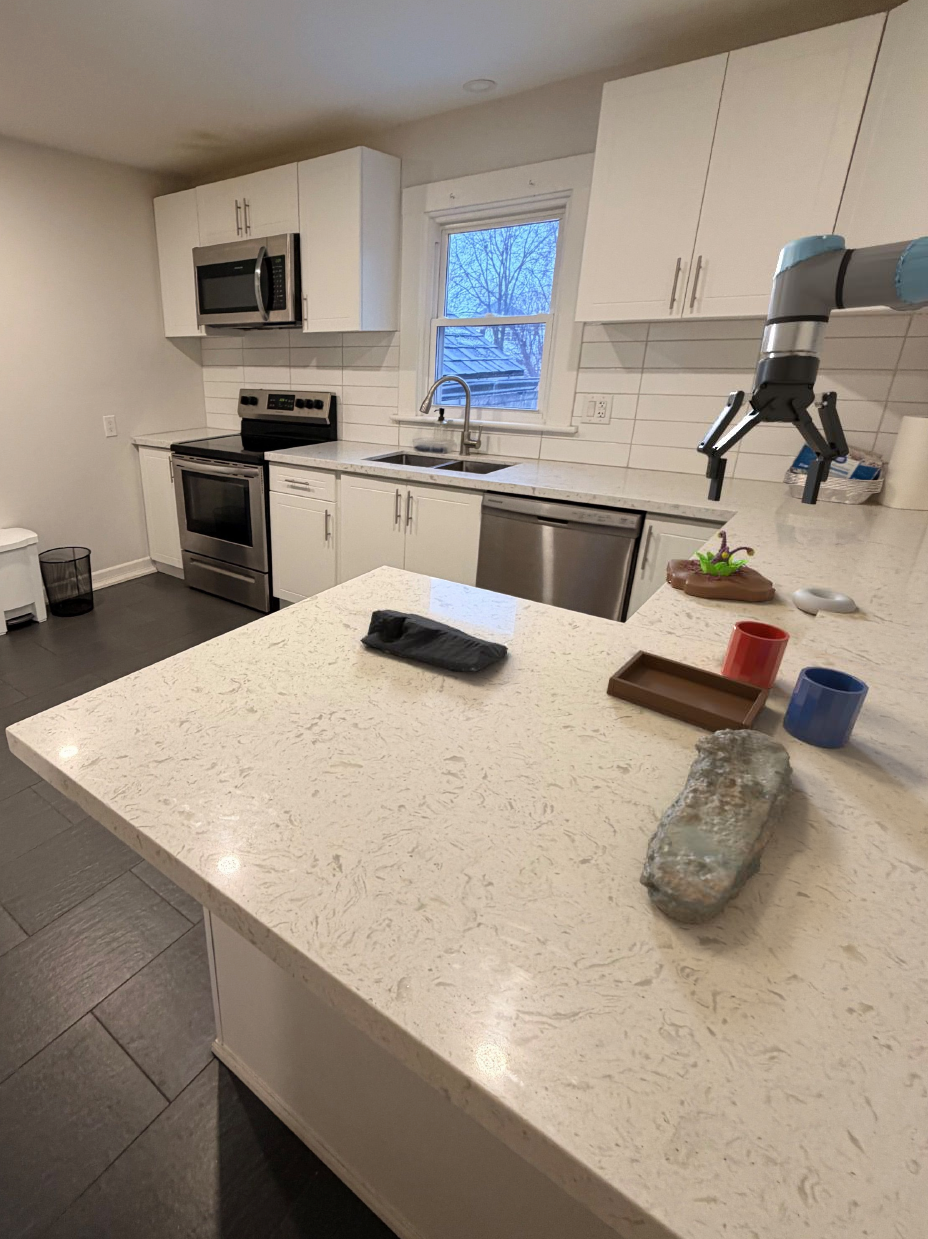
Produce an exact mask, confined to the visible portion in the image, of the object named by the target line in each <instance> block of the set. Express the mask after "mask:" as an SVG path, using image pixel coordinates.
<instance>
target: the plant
mask: <svg viewBox="0 0 928 1239" xmlns="http://www.w3.org/2000/svg"><path fill="white" fill-rule="evenodd" d="M716 536H717V538H719V539H722V540H721V543H720V548H719V549H718V552H716V553H715V555H714V554H713V553H712V552H710V551H706V556H705V554H702V553H700V552H697V551H694V554H695V555H696V556H697V557H698V558H699V559H683V558H682V559H681V558H677V559H675V558H674V559H669V561H668V562H667V566H666V569H665V570H666V578H665V582H666V583H669V581H671V582H670V583H669V584H670V586H671V588H674V589H678V590H682V591H683V593H685V594H688V595H691V596H695V597H699V598H704V599H725V600H735V601H743V602H749V603H754V602H765V601H769V600H773V599H774V597H775V595H776V588H775V587H773V582H772V581H771V580H770V579H768V578H767V577H765V576H764V575H763V574H762V573H760V572H759V571H757V570H756V569H754V568H751V567H749V566H747V564H746V563H748V562H749V559H739V560H736V561H733V560H734V554H736V553H737V552H739V551H743V550H745V551H746V554H747V555H748V556H749V557H754V555H755V550H754V549H753V548H751V547H749V546H739V547H736V548H734V549H732V550H730V547H729V546H727V545H728V544H727V543H728V542H727V540H728V539H727V532H726V531H725V530H720V531H718V533H717V535H716Z"/></svg>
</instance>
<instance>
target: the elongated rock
mask: <svg viewBox="0 0 928 1239" xmlns="http://www.w3.org/2000/svg"><path fill="white" fill-rule="evenodd" d="M694 749H695V750H696V751H697V753H698V755H697V756H696V757H695V758H694V760H693V761H692V762H691V765H690V769H689V773H688V774H687V778H686V781H685V786H684V787H683V790H682V791H680V792H679V794H678V796H677V798H675V799H673V801H672V803H671V805H670V806H669V807H667V809H666V810H665V811H664V813H663V815H661V817H660V820H659V822H658V824H657V826H656V827H657V829H656V830H654V831H653V833H652V834H651V836H650V837H649V838H648V839H647V846H648V847H647V850H646V854H645V860H644V863H643V869H642V871H641V874H640V876H639V884H641V885H642V886H644V887H645V888H646V889H647V895H648V898H649V899H650V901H652V902H653V903H654V905H655V906H656V907H657V908H658V909H659V910H661V911H662V912H663V913H664V914H665V915H669V916H670V917H671V918H673V919H675V920H677V921H680V922H682V923H684V924H685V923H687V924H693V925H704V924H705V923H707V922H708V921H710V920H711V919H715V918H717V917H719V916H720V915H721V914H723V913H724V912H725V906H726V905H727V903H728V902H729V901H732V900H736V899H738V898H739V897H740V895H741V893H742V891H743V888H744V887H745V886H746V883H747V881H748V880H750V879H751V878H753V877H754V876H755V875H757V874H758V873H759V872H760V871H761V865H762V861H761V859H762V858H763V855H762V852H763V851H764V849H765V848H766V846H767V844H768V843H769V841H770V839H771V838H772V837H773V835H774V833H775V829H776V827H777V826H778V820H781V819H783V815H782V813H783V811H784V810H786V809H787V807H788V806H787V805H788V804H789V802H790V800H791V798H792V797H791V795H790V793H791V791H792V790H793V785H792V784H793V780H792V779H791V775H792V773H793V771H794V768H793V767H792V766H791V762H790V759H791V756H790V753H789V752H788V751H787V748H786V747H785V746H784V745H783V744H782V743H781V742H780V741H779V740H778V739H775V738H774V737H772V736H770V735H768V734H766V733H763V732H761V731H758V730H754V729H753V730H752V729H751V730H738V731H737V730H735V731H733V730H731V729H726V730H720V731H716V732H713V734H710V735H709V736H706V735H705V736H704V735H703V736H700V737H698V739H697V741H696V743H695V744H694Z"/></svg>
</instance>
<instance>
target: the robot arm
mask: <svg viewBox="0 0 928 1239" xmlns="http://www.w3.org/2000/svg"><path fill="white" fill-rule="evenodd" d="M772 282H773V283H772V289H771V295H770V300H769V304H768V305H769V306H768V312H767V317H766V322H765V327H764V331H763V338H762V342H761V348H760V355H761V356H763V358H762V359H760V360H759V361H758V362H757V369H756V373H755V379H754V385H753V386H754V387H753V389H752V391H751V392H745V391H744V390H735V391H731V392H730V393H729V394H728V397H727V401H726V404H725V407H724V408H723V409H722V411H721V412H720V414H719V415H718V417H717V418H716V420H715V421H714V422H713V424H712V425H711V427H710V428H709V429H708V431H707V433H706V434H705V435H704V437H703V438H702V440H701V441H700V443H698V445H697V447H696V452H698V453H699V454H702V455H705V456H707V464H706V465H707V466H706V470H705V478H706V479H709V480H710V484H709V489H708V495H707V500H709V501H711V502H721V496H722V491H723V490H722V489H723V486H724V480H725V474H726V468H727V463H728V458H725V457H723V456H724V455H725V454H726V453H727V452H728V451H729V450H730V449H731V448H733V447H734V446H735V445H736V444H737V443H739V441H740V440H741V439H742V438H744V437H745V436H746V435H747V434H748V433H749V432H750V431H752V429H754V427H756V426H758V425H759V424H760V423H780V424H787V423H788V424H789V423H791V424H792V425H793V426H794V427H795V428H796V429H797V430H798V432H799V434H800V435H801V436H802V438H803V439H804V441H805V443H806V444H807V445H808V447H809V449H810V450H811V451H812V453H813V455H814V456H815V457H816V458H817V459H810V460H809V465H808V469H807V473H806V478H805V483H804V486H803V492H802V496H801V500H800V501H801V502H800V503H802V504H807V505H813V506H815V505H817V501H818V498H819V493H820V488H821V484H822V483H826V482H827V481H828V479H829V475H830V470H831V466H832V463H833V462H834V461H836V460H837V459H839V458H842V457H847V456H848V455H849V454H850V449H849V445H848V443H847V439H846V435H845V433H844V429H843V426H842V423H841V420H840V416H839V413H838V409H837V400H838V393H837V392H836V391H824V392H821V393H815V391H814V387H815V384H816V382H817V378H818V374H819V368H820V365H821V359H820V358H819V357H818V356H817V355H819V354H821V353H822V352H823V350H824V345H825V340H826V334H827V330H828V325H829V320H830V316H831V313H832V311H834V310H839V311H841V310H846V309H856V308H857V309H859V308H871V307H886V308H889V309H891V310H894V311H897V312H909V311H911V312H912V311H917V310H921V309H924V308H928V236H921V237H918V238H915V239H908V240H902V241H896V242H889V243H884V244H878V245H877V244H876V245H873V246H872V245H871V246H866V247H860V248H859V247H858V248H847V247H846V239H845V238H844V236H842V235H839V234H822V235H810V236H804V237H801V238H800V237H799V238H797V239H794V240H792V241H790V242H788V243H787V244H786V245H785V246H784V247H783V248H782V249H781V251H780V254H779V258H778V261H777V266H776V271H775V274H774V276H773V279H772ZM747 403H748V404H749V405H750V407H751V409H752V410H750V412H748V414H746V415H745V416H744V417H743V419H742V420H741V421H740V422H739V423H738V424H737V425H736V426H735V427H734V428H733V429H731V430H730V432H728V433H727V434H726V435H724V437H723V438H722V439H720V438H721V436H722V435H723V434H724V432H725V431H726V430H727V428H728V427H729V426H730V424H731V423H732V421H733V420H734V418H735V417H736V416H737V415H738V413H739V411H740V410H741V408H742V407H744V406H745V405H746V404H747ZM812 404H814V407H815V408H817V413H818V416H819V420H820V423H821V426H822V429H823V433H824V436H825V438H824V436H823V435H822V433H821V432H820V430H819V429H818V427H817V426H816V425H815V423H814V422H813V417H812V416H811V414H810V413H809V411H808V410H807V409H809V407H810V406H811V405H812ZM719 439H720V441H719Z"/></svg>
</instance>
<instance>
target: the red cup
mask: <svg viewBox="0 0 928 1239" xmlns="http://www.w3.org/2000/svg"><path fill="white" fill-rule="evenodd" d="M790 639H791V635H790V633H789V632H787V631H786V630H784V629H783V628H781V627H778V626H775V625H773V624H769V623H765V622H761V621H754V620H741V621H737V622H735V623H734V624H733V627H732V630H731V634H730V637H729V640H728V644H727V648H726V650H725V653H724V658H723V661H722V663H721V669H720V675H723V676H726V677H729V678H733V679H736V680H739V681H742V682H746V683H749V684H752V685H755V686H759V687H762V688H765V689H768V690H769V689H771V688H773V687H774V686H775V683H776V680H777V679H778V675H779V672H780V669H781V665H782V663H783V659H784V656H785V654H786V651H787V648H788V644H789V642H790Z"/></svg>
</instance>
